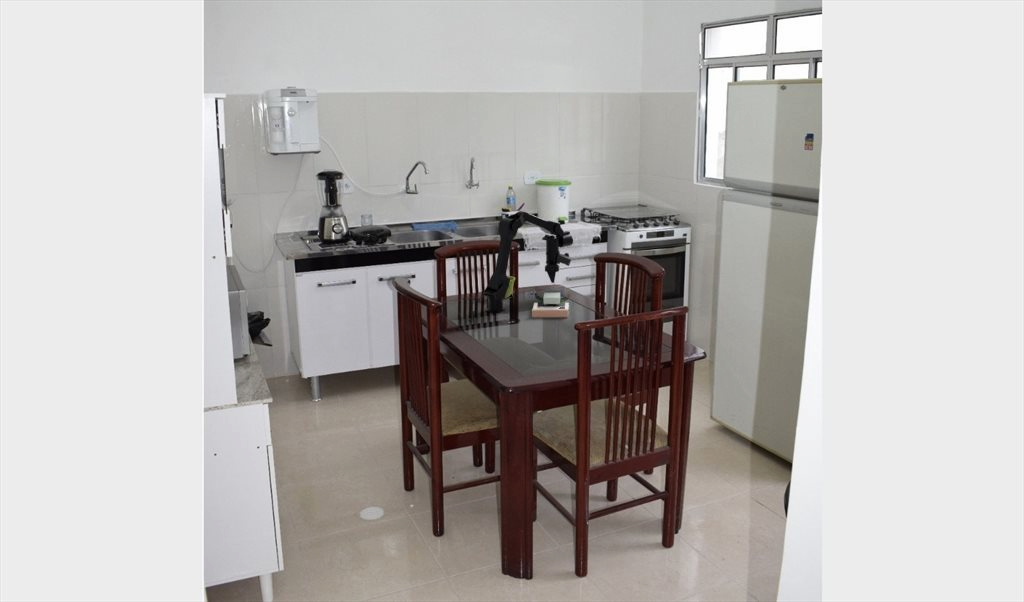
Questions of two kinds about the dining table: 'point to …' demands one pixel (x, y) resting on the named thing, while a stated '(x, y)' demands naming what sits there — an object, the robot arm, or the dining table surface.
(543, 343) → the dining table surface
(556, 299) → the pale green box
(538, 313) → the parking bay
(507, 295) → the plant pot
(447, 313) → the dining table surface
